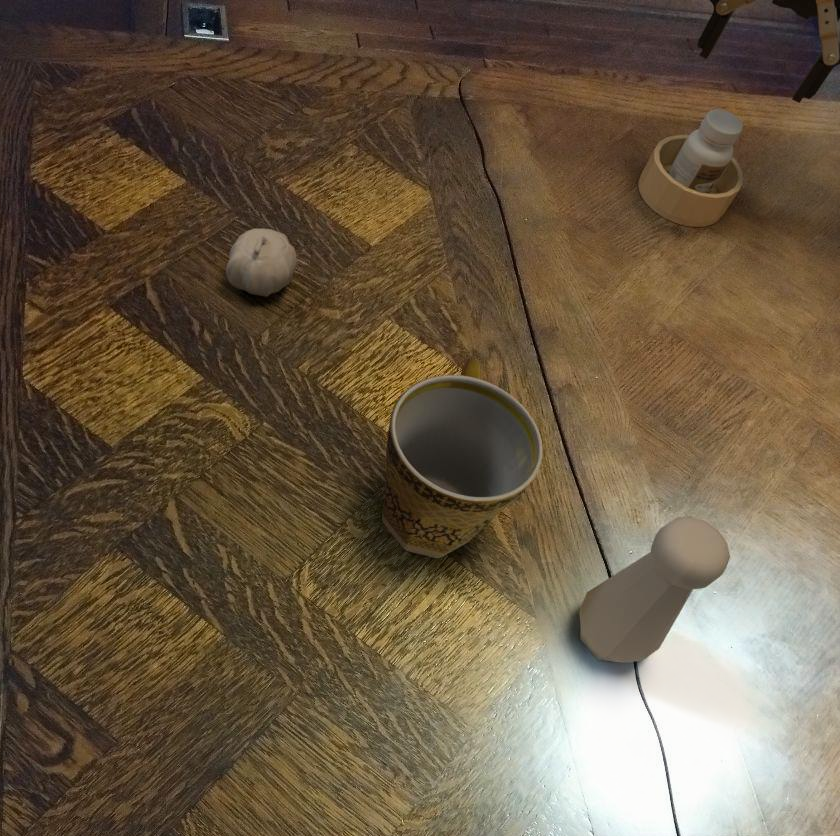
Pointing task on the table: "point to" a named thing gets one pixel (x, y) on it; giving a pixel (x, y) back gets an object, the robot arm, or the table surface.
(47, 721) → the table surface
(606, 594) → the salt shaker
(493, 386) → the ceramic cup
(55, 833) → the table surface
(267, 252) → the garlic
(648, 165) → the tan round bowl
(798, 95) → the robot arm
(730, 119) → the pill bottle
